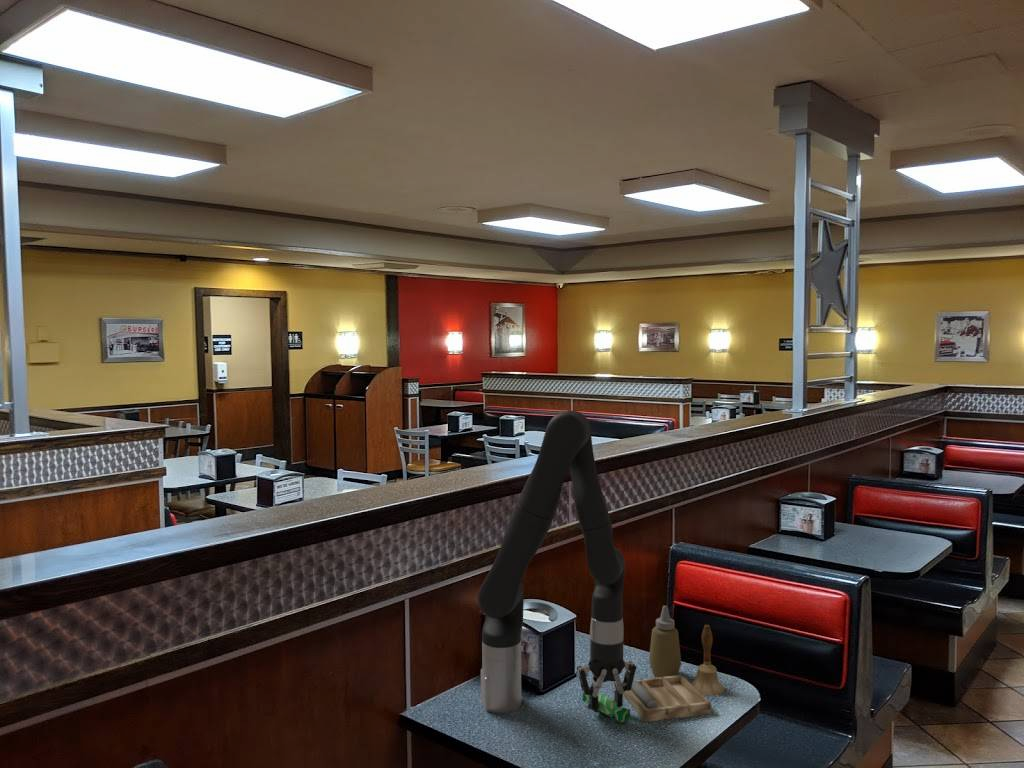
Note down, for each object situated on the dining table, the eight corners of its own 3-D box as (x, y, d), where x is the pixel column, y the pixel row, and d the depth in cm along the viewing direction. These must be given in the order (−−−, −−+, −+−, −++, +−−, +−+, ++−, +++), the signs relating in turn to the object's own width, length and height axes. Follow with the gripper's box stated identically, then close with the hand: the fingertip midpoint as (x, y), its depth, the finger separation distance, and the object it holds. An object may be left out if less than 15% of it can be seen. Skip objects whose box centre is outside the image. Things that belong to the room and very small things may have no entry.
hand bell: (725, 698, 177) (726, 632, 176) (690, 695, 179) (690, 630, 178) (723, 682, 185) (723, 620, 185) (688, 680, 187) (689, 617, 186)
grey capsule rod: (649, 714, 168) (649, 703, 168) (628, 689, 180) (628, 679, 180) (659, 712, 169) (659, 702, 168) (638, 688, 181) (638, 678, 181)
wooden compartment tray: (644, 721, 166) (644, 711, 166) (620, 691, 181) (620, 681, 181) (710, 713, 170) (710, 703, 170) (681, 684, 185) (681, 674, 184)
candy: (630, 722, 167) (630, 704, 166) (619, 727, 165) (619, 709, 164) (593, 701, 176) (593, 684, 176) (582, 706, 174) (582, 688, 174)
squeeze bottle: (647, 680, 187) (647, 610, 186) (650, 667, 195) (650, 599, 194) (679, 684, 184) (680, 613, 184) (682, 671, 192) (682, 602, 191)
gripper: (581, 645, 164) (581, 721, 165) (642, 640, 167) (642, 714, 168) (571, 632, 171) (571, 705, 172) (630, 627, 175) (629, 698, 176)
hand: (606, 709), depth 170 cm, fingers open, 4 cm apart
